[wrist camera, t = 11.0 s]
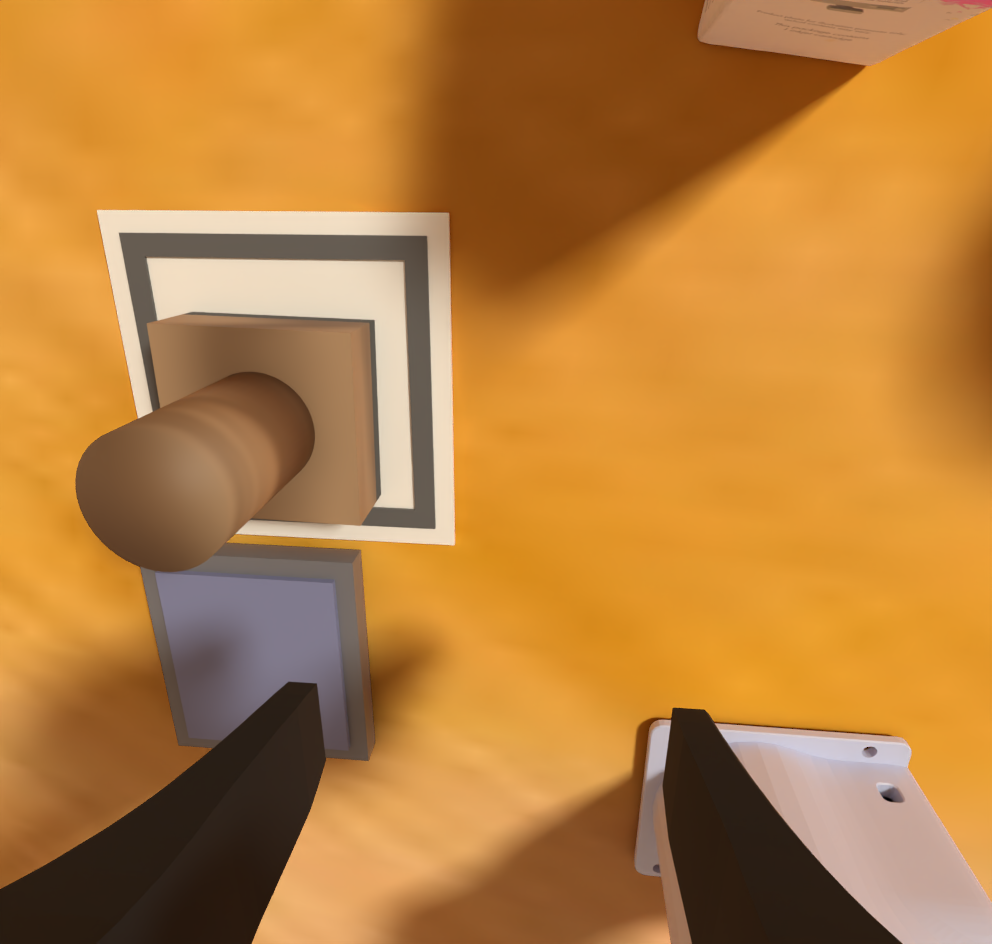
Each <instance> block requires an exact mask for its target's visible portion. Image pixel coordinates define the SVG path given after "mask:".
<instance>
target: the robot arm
mask: <svg viewBox="0 0 992 944" xmlns="http://www.w3.org/2000/svg"><path fill="white" fill-rule="evenodd" d="M866 747H870V748H869V749H865V750H863V749H864V748H866ZM911 751H912V750H911V748H910V747H909V745H908V744H907V742H906V740H904V739H903V738H900V737H894V736H881V735H867V734H853V733H840V732H826V731H812V730H799V729H785V728H772V727H758V726H744V725H731V724H717V723H714V722H713V720H712V718H711V717H710V715H709V714H708V713H707V712H706V711H705V710H700V709H686V708H673V710H672V718H671V720H657V721H655V722H653V723H652V724H651V726H650V728H649V735H648V744H647V752H646V761H645V770H644V778H643V787H642V795H641V804H640V812H639V821H638V830H637V838H636V847H635V855H634V863H635V869H636V870H637V872H639V873H641V874H643V875H649V876H660V877H661V880H662V886H663V893H664V900H665V907H666V914H667V920H668V927H669V934H670V941H671V944H992V902H991V901H990V899H989V897H988V896H987V894H986V893H985V891H984V889H983V888H982V886H981V884H980V883H979V881H978V880H977V878H976V876H975V875H974V873H973V872H972V870H971V868H970V867H969V865H968V864H967V862H966V860H965V859H964V857H963V856H962V854H961V852H960V851H959V849H958V848H957V846H956V844H955V843H954V841H953V840H952V838H951V836H950V835H949V833H948V832H947V830H946V828H945V827H944V825H943V824H942V822H941V820H940V819H939V817H938V815H937V814H936V812H935V811H934V809H933V807H932V806H931V804H930V803H929V801H928V799H927V798H926V796H925V795H924V793H923V791H922V790H921V788H920V787H919V785H918V783H917V782H916V780H915V779H914V777H913V775H912V774H911V772H910V771H909V769H908V768H907V767H908V764H909V760H910V757H911ZM325 761H326V756H325V748H324V739H323V730H322V722H321V713H320V705H319V696H318V688H317V683H304V682H289V681H288V682H287V683H286V684H285V685H284V686H283V687H282V688H280V689H279V690H278V691H277V692H276V693H275V694H274V695H272V696H271V697H270V698H269V699H268V700H267V701H266V702H265V703H264V704H262V705H261V706H260V707H259V708H258V709H257V710H256V711H255V712H254V713H253V714H251V715H250V716H249V717H248V718H247V719H246V720H245V721H244V722H243V723H241V724H240V725H239V726H238V727H237V728H236V729H235V730H234V731H232V732H231V733H230V734H229V735H228V736H227V737H225V738H224V739H223V740H222V741H221V742H220V743H219V744H217V745H216V746H215V747H214V748H213V749H212V750H211V751H209V752H208V753H207V754H206V755H205V756H203V757H202V758H201V759H200V760H199V761H197V762H196V763H195V764H194V765H192V766H191V767H190V768H189V769H187V770H186V771H185V772H184V773H182V774H181V775H180V776H179V777H177V778H176V779H175V780H174V781H172V782H171V783H170V784H169V785H167V786H166V787H165V788H163V789H162V790H161V791H159V792H158V793H157V794H155V795H154V796H152V797H151V798H150V799H148V800H147V801H146V802H144V803H143V804H141V805H140V806H138V807H137V808H136V809H134V810H133V811H131V812H130V813H128V814H127V815H125V816H124V817H122V818H121V819H119V820H118V821H117V822H115V823H114V824H112V825H110V826H109V827H107V828H106V829H104V830H103V831H101V832H99V833H98V834H96V835H94V836H93V837H91V838H90V839H88V840H86V841H85V842H83V843H81V844H80V845H78V846H76V847H75V848H73V849H71V850H70V851H68V852H66V853H65V854H63V855H62V856H60V857H58V858H57V859H55V860H53V861H52V862H50V863H48V864H46V865H44V866H43V867H41V868H39V869H37V870H35V871H34V872H32V873H30V874H28V875H26V876H24V877H23V878H21V879H19V880H17V881H15V882H13V883H11V884H9V885H7V886H5V887H4V888H2V889H0V944H252V941H253V939H254V936H255V934H256V931H257V929H258V926H259V924H260V921H261V919H262V917H263V915H264V912H265V910H266V908H267V906H268V904H269V901H270V899H271V897H272V895H273V893H274V890H275V888H276V886H277V884H278V881H279V879H280V877H281V875H282V873H283V870H284V868H285V866H286V864H287V861H288V859H289V857H290V855H291V853H292V850H293V848H294V846H295V844H296V841H297V839H298V837H299V835H300V832H301V830H302V828H303V826H304V823H305V821H306V819H307V816H308V814H309V812H310V809H311V806H312V803H313V800H314V797H315V794H316V791H317V788H318V785H319V781H320V778H321V775H322V771H323V768H324V765H325ZM657 864H658V865H657Z"/></svg>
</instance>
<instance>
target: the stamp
mask: <svg viewBox="0 0 992 944" xmlns="http://www.w3.org/2000/svg"><path fill="white" fill-rule="evenodd" d="M147 329H148V335H149V341H150V347H151V354H152V360H153V366H154V372H155V378H156V384H157V390H158V397H159V403H160V409H157V410H155V411H153V412H151V413H149V414H147V415H145V416H143V417H141V418H138V419H136V420H134V421H132V422H130V423H128V424H126V425H124V426H122V427H119V428H117V429H115V430H113V431H111V432H109V433H107V434H105V435H103V436H101V437H99V438H98V439H97V440H95V441H94V442H93V443H92V444H91V445H90V446H89V447H88V448H87V449H86V451H85V452H84V454H83V455H82V457H81V459H80V461H79V464H78V468H77V472H76V494H77V499H78V503H79V506H80V509H81V511H82V514H83V516H84V518H85V520H86V521H87V523H88V525H89V527H90V528H91V529H92V531H93V532H94V534H95V535H96V536H97V537H98V538H99V539H100V540H101V542H103V543H104V544H105V545H106V546H107V547H108V548H109V549H110V550H112V551H113V552H114V553H115V554H117V555H118V556H120V557H121V558H123V559H125V560H126V561H128V562H131V563H133V564H135V565H137V566H140V567H143V568H146V569H150V570H153V571H160V572H179V571H185V570H189V569H192V568H194V567H197V566H199V565H201V564H202V563H204V562H206V561H207V560H208V559H209V558H210V557H212V556H213V555H214V554H215V553H216V552H217V551H218V550H219V549H220V548H221V547H222V546H223V545H224V544H225V543H226V542H227V541H228V540H229V539H230V538H231V537H232V536H233V535H235V534H236V533H237V532H238V531H239V530H240V529H241V528H242V527H243V526H244V525H245V524H246V523H247V522H248V521H249V520H250V519H251V518H256V519H270V520H284V521H298V522H312V523H326V524H341V525H355V526H361V524H362V523H363V521H364V520H365V518H366V517H367V515H368V514H369V512H370V511H371V509H372V508H373V506H374V505H375V503H376V502H377V500H378V499H379V497H380V496H381V477H380V451H379V424H378V397H377V370H376V344H375V320H364V319H342V318H320V317H298V316H275V315H253V314H231V313H209V312H189V313H185V314H182V315H178V316H174V317H170V318H166V319H162V320H158V321H154V322H150V323H147Z"/></svg>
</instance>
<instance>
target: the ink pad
mask: <svg viewBox="0 0 992 944" xmlns="http://www.w3.org/2000/svg"><path fill="white" fill-rule="evenodd" d="M140 568H141V573H142V577H143V582H144V587H145V591H146V596H147V601H148V605H149V610H150V615H151V619H152V624H153V629H154V633H155V638H156V642H157V647H158V652H159V656H160V661H161V666H162V670H163V675H164V680H165V684H166V689H167V694H168V698H169V703H170V707H171V712H172V717H173V721H174V726H175V731H176V735H177V740H178V745H181V746H193V747H205V748H214V747H215V746H216V745H217V744H219V743H220V742H221V741H222V740H223V739H224V738H225V737H227V736H228V735H229V734H230V733H231V732H232V731H234V730H235V729H236V728H237V727H238V726H239V725H240V724H241V723H243V722H244V721H245V720H246V719H247V718H248V717H249V716H250V715H251V714H253V713H254V712H255V711H256V710H257V709H258V708H259V707H260V706H261V705H262V704H264V703H265V702H266V701H267V700H268V699H269V698H270V697H271V696H272V695H274V694H275V693H276V692H277V691H278V690H279V689H280V688H282V687H283V686H284V685H285V684H286V683H287V682H288V681H289V682H304V683H317V688H318V696H319V705H320V713H321V722H322V730H323V739H324V748H325V756H326V757H327V758H339V759H351V760H364V761H369V758H370V756H371V753H372V750H373V747H374V745H375V732H374V719H373V706H372V693H371V680H370V667H369V654H368V640H367V627H366V614H365V601H364V588H363V575H362V561H361V550H352V549H333V548H314V547H296V546H277V545H258V544H240V543H225V544H224V545H223V546H222V547H221V548H220V549H219V550H218V551H217V552H216V553H215V554H214V555H213V556H212V557H210V558H209V559H208V560H207V561H206V562H204V563H202V564H201V565H199V566H197V567H194V568H192V569H189V570H185V571H179V572H160V571H153V570H150V569H146V568H143V567H140Z"/></svg>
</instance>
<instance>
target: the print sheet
mask: <svg viewBox="0 0 992 944" xmlns="http://www.w3.org/2000/svg"><path fill="white" fill-rule="evenodd" d="M97 214H98V219H99V224H100V229H101V234H102V239H103V244H104V249H105V254H106V259H107V264H108V269H109V274H110V280H111V285H112V290H113V295H114V300H115V305H116V310H117V315H118V320H119V325H120V330H121V335H122V340H123V345H124V350H125V355H126V360H127V365H128V370H129V375H130V380H131V385H132V390H133V396H134V401H135V406H136V411H137V416H138V418H141V417H143V416H145V415H147V414H149V413H151V412H153V411H155V410H157V409H160V403H159V397H158V390H157V384H156V378H155V372H154V366H153V360H152V354H151V347H150V341H149V335H148V329H147V323H150V322H154V321H158V320H162V319H166V318H170V317H174V316H178V315H182V314H185V313H189V312H209V313H231V314H253V315H275V316H298V317H320V318H342V319H364V320H375V344H376V370H377V397H378V424H379V451H380V477H381V496H380V497H379V499H378V500H377V502H376V503H375V505H374V506H373V508H372V509H371V511H370V512H369V514H368V515H367V517H366V518H365V520H364V521H363V523H362V524H361V526H355V525H341V524H326V523H312V522H298V521H284V520H270V519H256V518H251V519H250V520H249V521H248V522H247V523H246V524H245V525H244V526H243V527H242V528H241V529H240V530H239V531H238V532H237V533H236V534H248V535H267V536H286V537H305V538H324V539H344V540H363V541H382V542H401V543H420V544H440V545H455V506H454V447H453V389H452V330H451V272H450V214H449V213H431V212H297V211H163V210H97Z"/></svg>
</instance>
